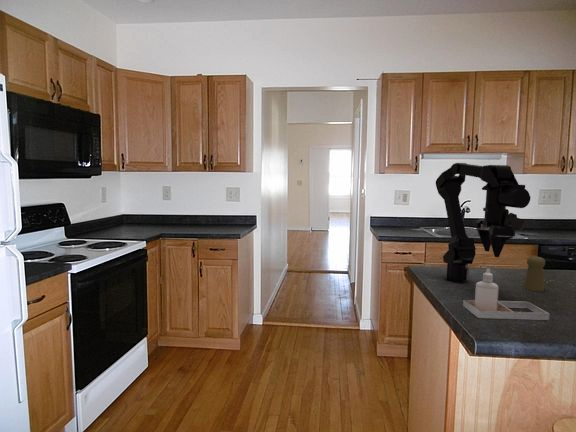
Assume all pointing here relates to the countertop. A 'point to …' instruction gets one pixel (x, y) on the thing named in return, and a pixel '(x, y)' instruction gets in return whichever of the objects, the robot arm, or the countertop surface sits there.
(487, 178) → the robot arm
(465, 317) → the countertop surface
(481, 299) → the eye dropper bottle
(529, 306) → the tray
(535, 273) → the cork
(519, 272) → the countertop surface
